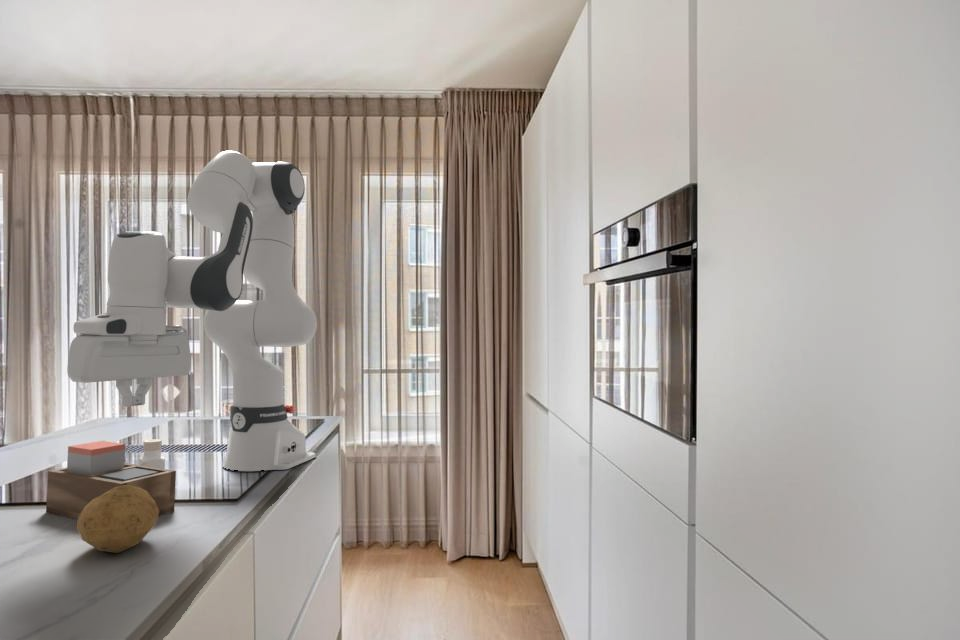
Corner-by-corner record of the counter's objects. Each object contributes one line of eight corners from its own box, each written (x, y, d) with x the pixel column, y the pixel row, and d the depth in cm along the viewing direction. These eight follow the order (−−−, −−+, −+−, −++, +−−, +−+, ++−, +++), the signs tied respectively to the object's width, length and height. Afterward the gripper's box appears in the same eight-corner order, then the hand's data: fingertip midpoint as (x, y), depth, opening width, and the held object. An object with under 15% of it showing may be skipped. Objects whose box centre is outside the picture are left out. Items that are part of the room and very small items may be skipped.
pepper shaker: (136, 488, 113) (138, 440, 113) (159, 485, 116) (161, 438, 116) (141, 492, 110) (143, 443, 110) (164, 489, 113) (166, 441, 113)
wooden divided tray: (104, 497, 106) (105, 459, 107) (174, 511, 100) (175, 470, 100) (46, 512, 97) (48, 470, 97) (119, 528, 90) (121, 483, 91)
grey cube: (132, 502, 101) (134, 467, 101) (156, 506, 98) (158, 471, 99) (98, 511, 95) (100, 475, 95) (123, 516, 93) (125, 479, 93)
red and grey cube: (100, 473, 104) (102, 440, 104) (123, 477, 102) (125, 443, 102) (66, 481, 98) (68, 446, 99) (89, 485, 96) (91, 449, 96)
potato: (61, 572, 74) (64, 509, 74) (90, 535, 87) (92, 482, 87) (147, 563, 77) (150, 503, 78) (163, 529, 90) (165, 478, 91)
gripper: (176, 325, 108) (173, 398, 108) (62, 322, 89) (59, 411, 89) (200, 326, 106) (198, 400, 106) (89, 323, 87) (86, 414, 87)
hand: (133, 405), depth 97 cm, fingers closed
